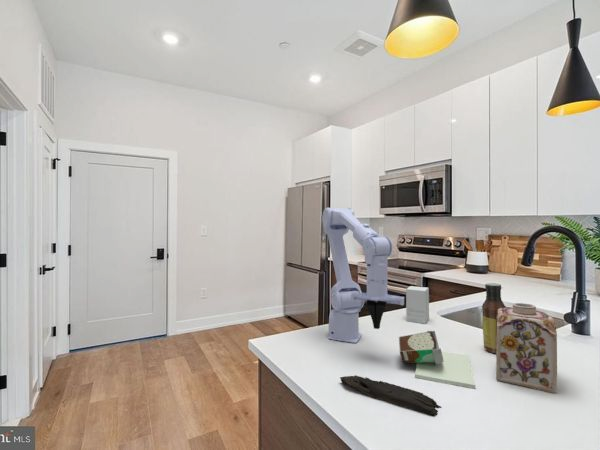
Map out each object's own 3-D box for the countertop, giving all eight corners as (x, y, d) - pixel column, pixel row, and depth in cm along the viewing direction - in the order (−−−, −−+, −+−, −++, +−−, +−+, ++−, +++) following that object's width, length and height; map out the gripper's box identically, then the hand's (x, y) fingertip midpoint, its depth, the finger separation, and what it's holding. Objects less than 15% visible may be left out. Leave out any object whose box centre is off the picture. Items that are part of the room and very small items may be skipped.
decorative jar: (557, 395, 71) (557, 313, 71) (495, 381, 77) (496, 306, 77) (550, 373, 81) (550, 302, 81) (496, 363, 87) (496, 296, 87)
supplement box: (429, 319, 126) (429, 287, 126) (425, 324, 120) (425, 290, 120) (410, 316, 130) (410, 285, 130) (405, 321, 124) (405, 288, 124)
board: (415, 377, 79) (415, 374, 79) (419, 350, 95) (419, 348, 95) (475, 388, 73) (475, 385, 73) (468, 358, 90) (468, 355, 90)
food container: (405, 377, 82) (447, 373, 79) (399, 354, 82) (441, 349, 79) (403, 355, 94) (439, 350, 91) (398, 334, 94) (434, 330, 91)
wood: (444, 402, 68) (444, 388, 68) (437, 420, 62) (437, 404, 62) (348, 376, 80) (348, 364, 80) (335, 389, 74) (335, 375, 74)
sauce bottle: (506, 349, 96) (506, 283, 96) (509, 356, 91) (509, 286, 91) (481, 345, 99) (481, 281, 99) (483, 352, 94) (483, 285, 93)
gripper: (348, 280, 89) (348, 328, 89) (402, 284, 84) (402, 335, 84) (354, 276, 96) (354, 321, 96) (405, 279, 90) (404, 327, 90)
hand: (376, 327), depth 90 cm, fingers closed
